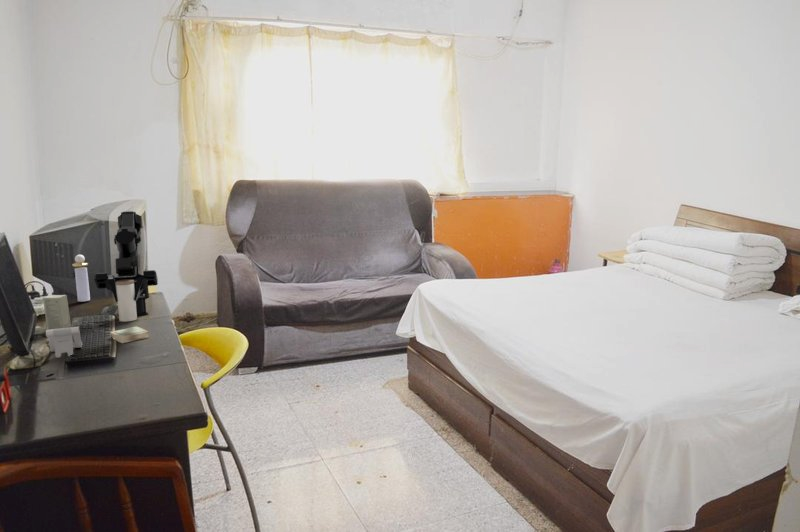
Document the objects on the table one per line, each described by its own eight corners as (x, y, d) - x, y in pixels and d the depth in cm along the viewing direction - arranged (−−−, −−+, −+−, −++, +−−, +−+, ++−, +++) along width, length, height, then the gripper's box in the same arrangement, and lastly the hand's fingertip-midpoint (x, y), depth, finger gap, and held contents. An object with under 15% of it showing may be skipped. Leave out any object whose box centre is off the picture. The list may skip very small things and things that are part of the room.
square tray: (137, 331, 203) (137, 325, 203) (149, 337, 197) (148, 330, 197) (110, 337, 197) (109, 331, 196) (121, 343, 191) (121, 336, 190)
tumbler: (128, 316, 199) (125, 278, 197) (141, 317, 197) (137, 279, 195) (115, 320, 194) (111, 281, 192) (128, 322, 192) (124, 283, 190)
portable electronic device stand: (82, 347, 187) (80, 322, 186) (80, 355, 180) (77, 328, 179) (51, 351, 184) (48, 325, 182) (48, 358, 177) (44, 332, 175)
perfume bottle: (95, 301, 246) (90, 253, 243) (83, 304, 241) (78, 255, 237) (85, 299, 249) (80, 252, 245) (73, 302, 243) (68, 255, 240)
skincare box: (71, 328, 208) (68, 294, 205) (63, 332, 203) (59, 297, 201) (54, 327, 208) (51, 294, 206) (46, 331, 204) (42, 297, 202)
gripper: (92, 249, 192) (89, 289, 184) (154, 246, 198) (153, 285, 190) (99, 268, 201) (96, 307, 193) (157, 265, 207) (157, 303, 199)
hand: (125, 300), depth 193 cm, fingers closed on tumbler, 5 cm apart
